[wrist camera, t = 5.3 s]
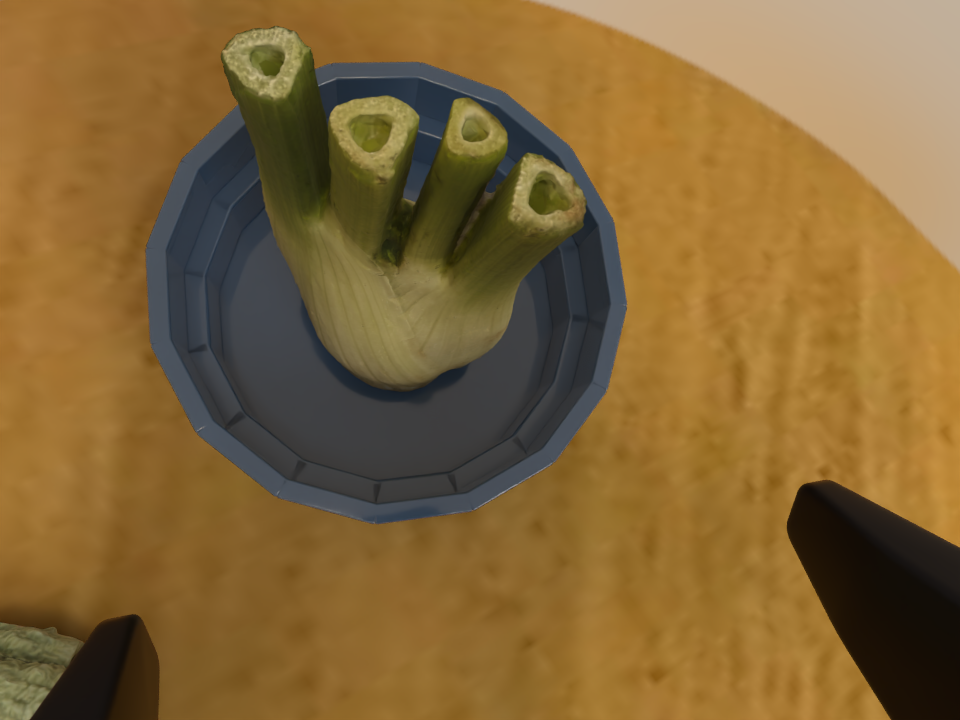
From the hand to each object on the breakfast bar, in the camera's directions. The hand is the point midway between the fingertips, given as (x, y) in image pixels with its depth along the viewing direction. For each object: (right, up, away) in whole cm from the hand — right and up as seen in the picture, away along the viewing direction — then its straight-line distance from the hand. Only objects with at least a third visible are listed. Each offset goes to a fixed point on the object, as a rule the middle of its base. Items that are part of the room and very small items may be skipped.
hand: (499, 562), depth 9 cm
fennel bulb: (-3, +4, +12) cm, 13 cm away
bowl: (-3, +4, +13) cm, 14 cm away
